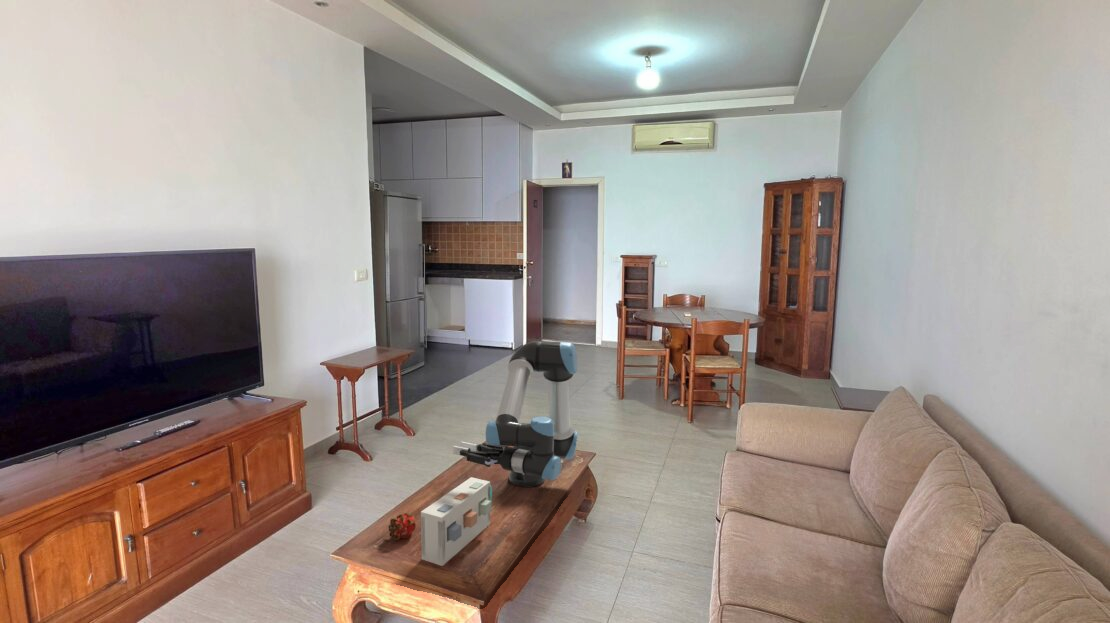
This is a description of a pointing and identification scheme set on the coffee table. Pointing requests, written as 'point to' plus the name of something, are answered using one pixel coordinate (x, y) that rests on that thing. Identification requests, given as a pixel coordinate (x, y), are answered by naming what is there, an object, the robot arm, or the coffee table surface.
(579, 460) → the coffee table surface
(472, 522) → the terracotta button
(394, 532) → the dragon fruit
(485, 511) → the sage button
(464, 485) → the button box
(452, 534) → the slate button
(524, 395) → the robot arm
